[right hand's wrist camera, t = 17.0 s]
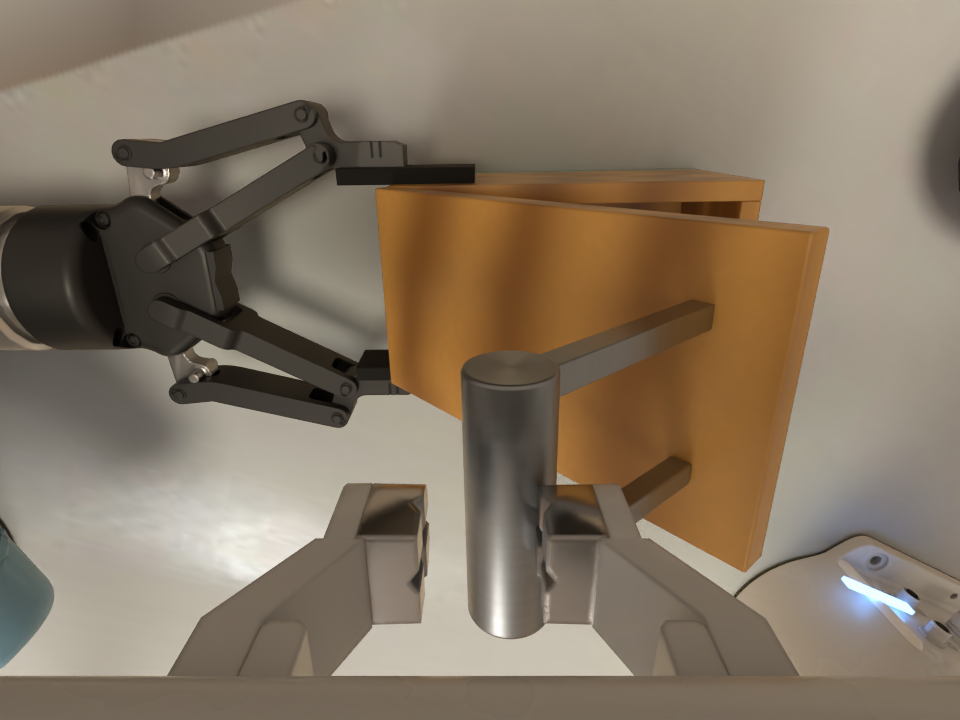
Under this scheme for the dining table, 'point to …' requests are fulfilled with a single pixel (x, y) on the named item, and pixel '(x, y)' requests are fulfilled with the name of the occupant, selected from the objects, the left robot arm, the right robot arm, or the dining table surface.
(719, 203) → the chest
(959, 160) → the grenade
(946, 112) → the dining table surface
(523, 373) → the lid
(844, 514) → the dining table surface
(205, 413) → the dining table surface
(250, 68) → the dining table surface
